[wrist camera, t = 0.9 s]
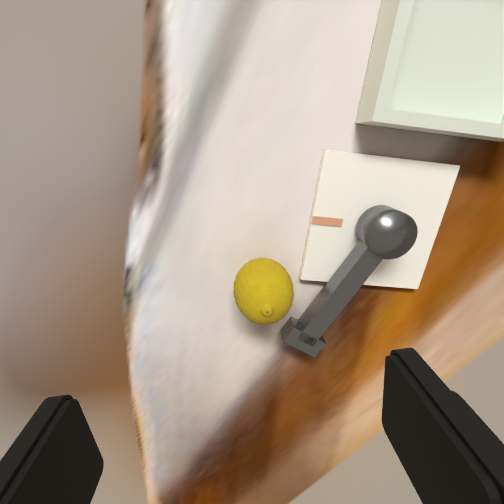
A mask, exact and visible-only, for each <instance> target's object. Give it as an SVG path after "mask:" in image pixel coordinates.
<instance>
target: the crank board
mask: <svg viewBox="0 0 504 504" xmlns="http://www.w3.org/2000/svg"><path fill="white" fill-rule="evenodd" d="M459 168H460V166H459V165H451V164H442V163H434V162H426V161H417V160H409V159H401V158H392V157H384V156H376V155H367V154H359V153H351V152H342V151H334V150H325V149H323V151H322V157H321V162H320V168H319V173H318V178H317V184H316V189H315V195H314V200H313V205H312V211H311V216H310V222H309V227H308V232H307V238H306V243H305V249H304V254H303V259H302V265H301V270H300V276H299V277H300V279H301V280H310V281H323V282H328V281H329V280H330V278H331V277H332V276H333V274H334V273H335V272H336V271H337V269H338V268H339V267H340V265H341V264H342V263H343V261H344V260H345V259H346V257H347V256H348V255H349V253H350V252H351V251H352V249H353V248H354V247H355V246H356V244H357V243H358V242H359V240H358V238H357V236H356V224H357V221H358V219H359V218H360V216H361V215H362V214H363V213H364V212H365V211H366V210H367V209H369V208H371V207H373V206H376V205H387V206H390V207H392V208H394V209H396V210H399V211H401V212H403V213H406V214H408V215H409V216H411V217H412V218H413V219H414V221H415V222H416V225H417V229H418V234H417V239H416V241H415V243H414V245H413V247H412V248H411V249H410V250H409V251H408V252H407V253H406V254H404V255H403V256H401V257H399V258H396V259H389V260H388V259H383V260H382V261H381V262H380V264H379V265H378V266H377V267H376V269H375V270H374V271H373V272H372V274H371V275H370V276H369V277H368V279H367V280H366V281H365V282H364V284H363V285H373V286H386V287H398V288H411V289H418V287H419V284H420V281H421V278H422V275H423V273H424V270H425V267H426V264H427V261H428V258H429V255H430V252H431V249H432V247H433V244H434V241H435V238H436V235H437V232H438V229H439V226H440V223H441V220H442V218H443V215H444V212H445V209H446V206H447V203H448V200H449V197H450V194H451V192H452V189H453V186H454V183H455V180H456V177H457V174H458V171H459Z"/></svg>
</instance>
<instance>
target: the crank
mask: <svg viewBox="0 0 504 504" xmlns="http://www.w3.org/2000/svg"><path fill="white" fill-rule="evenodd" d="M417 234H418V229H417V225H416V222H415V221H414V219H413V218H412V217H411V216H409V215H408V214H406V213H403V212H401V211H399V210H396V209H394V208H392V207H390V206H387V205H376V206H373V207H371V208H369V209H367V210H366V211H365V212H364V213H363V214H362V215H361V216H360V218H359V219H358V221H357V224H356V236H357V238H358V240H359V242H358V243H357V244H356V246H355V247H354V248H353V249H352V251H351V252H350V253H349V255H348V256H347V257H346V259H345V260H344V261H343V263H342V264H341V265H340V267H339V268H338V269H337V271H336V272H335V273H334V274H333V276H332V277H331V278H330V280H329V281H328V282H327V284H326V285H325V286H324V288H323V289H322V290H321V292H320V293H319V294H318V296H317V297H316V298H315V299H314V301H313V302H312V303H311V305H310V306H309V307H308V309H307V310H306V311H305V313H304V314H303V315H302V317H301V318H300V319H299V321H298V320H296V319H295V318H293V317H290V318H289V320H288V321H287V322H286V324H285V325H284V326H283V328H282V329H281V334H282V339H283V342H284V343H286V344H288V345H290V346H292V347H294V348H296V349H298V350H300V351H303V352H305V353H307V354H309V355H311V356H313V357H316V355H317V354H318V353H319V352H320V350H321V349H322V348H323V347H324V346H325V344H326V343H325V340H324V338H323V336H322V335H323V333H324V332H325V331H326V330H327V328H328V327H329V326H330V325H331V323H332V322H333V321H334V320H335V318H336V317H337V316H338V315H339V313H340V312H341V311H342V310H343V308H344V307H345V306H346V305H347V304H348V302H349V301H350V300H351V299H352V297H353V296H354V295H355V294H356V292H357V291H358V290H359V289H360V287H361V286H362V285H363V284H364V282H365V281H366V280H367V279H368V277H369V276H370V275H371V274H372V272H373V271H374V270H375V269H376V267H377V266H378V265H379V264H380V262H381V261H382V260H383V259H388V260H389V259H396V258H399V257H401V256H403V255H404V254H406V253H407V252H408V251H409V250H410V249H411V248H412V247H413V245H414V243H415V241H416V239H417Z"/></svg>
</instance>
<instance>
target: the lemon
mask: <svg viewBox="0 0 504 504" xmlns="http://www.w3.org/2000/svg"><path fill="white" fill-rule="evenodd" d="M293 295H294V293H293V283H292V280H291V277H290V275H289V274H288V272H287V271H286V269H285V268H284V267H283V266H282V265H281V264H279V263H278V262H276V261H274V260H272V259H267V258H258V259H254V260H251V261H249V262H248V263H246V264H245V265H244V266H243V267H242V268H241V269H240V270H239V272H238V274H237V276H236V279H235V282H234V297H235V300H236V304H237V306H238V308H239V309H240V311H241V312H242V314H243V315H244V316H245V317H247V318H248V319H249V320H251V321H253V322H255V323H259V324H270V323H274V322H276V321H278V320H280V319H281V318H283V317H284V316H285V315H286V314H287V313H288V311H289V309H290V307H291V305H292V301H293Z"/></svg>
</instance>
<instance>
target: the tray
mask: <svg viewBox="0 0 504 504" xmlns="http://www.w3.org/2000/svg"><path fill="white" fill-rule="evenodd" d="M356 123H358V124H365V125H373V126H381V127H389V128H396V129H404V130H412V131H420V132H427V133H435V134H443V135H451V136H458V137H466V138H474V139H482V140H489V141H497V142H504V0H382V2H381V6H380V11H379V16H378V20H377V25H376V30H375V34H374V39H373V44H372V48H371V53H370V58H369V62H368V67H367V71H366V76H365V81H364V85H363V90H362V95H361V99H360V104H359V109H358V113H357V118H356Z"/></svg>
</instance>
